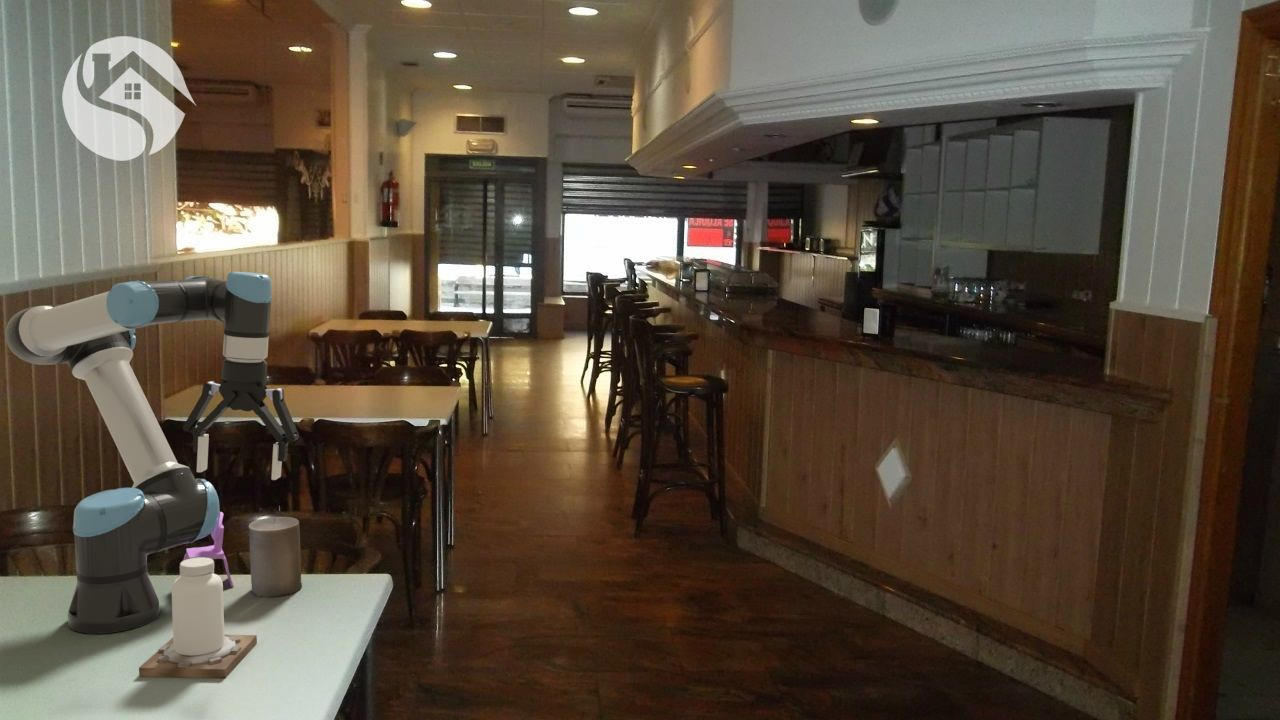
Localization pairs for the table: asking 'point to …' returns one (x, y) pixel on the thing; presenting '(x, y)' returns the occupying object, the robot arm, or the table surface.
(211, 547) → the toy chair
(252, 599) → the table surface
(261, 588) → the pillar candle
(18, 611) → the table surface
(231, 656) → the gear board
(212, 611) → the pill bottle
